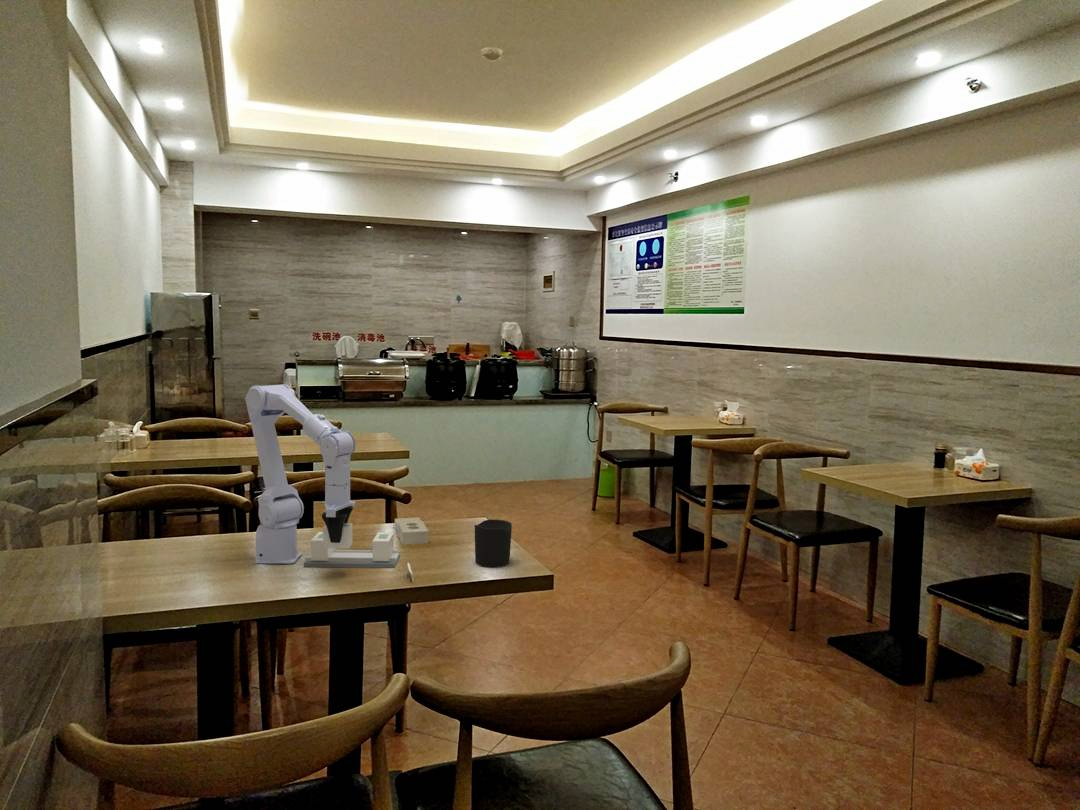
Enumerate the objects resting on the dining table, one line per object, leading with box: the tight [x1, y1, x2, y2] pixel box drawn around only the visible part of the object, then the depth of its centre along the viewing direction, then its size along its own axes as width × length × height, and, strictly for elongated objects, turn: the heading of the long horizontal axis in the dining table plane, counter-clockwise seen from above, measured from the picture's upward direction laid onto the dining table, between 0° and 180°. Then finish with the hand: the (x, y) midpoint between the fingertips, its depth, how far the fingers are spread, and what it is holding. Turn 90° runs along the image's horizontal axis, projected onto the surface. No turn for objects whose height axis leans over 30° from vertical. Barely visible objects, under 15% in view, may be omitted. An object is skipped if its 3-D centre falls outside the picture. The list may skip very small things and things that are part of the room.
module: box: [322, 522, 353, 549], centre depth 177 cm, size 6×4×5 cm, turn 92°
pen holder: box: [474, 519, 513, 568], centre depth 189 cm, size 9×9×10 cm
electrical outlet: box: [394, 516, 430, 546], centre depth 213 cm, size 7×4×18 cm
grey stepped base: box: [303, 531, 401, 569], centre depth 188 cm, size 22×10×7 cm, turn 93°
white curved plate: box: [402, 562, 415, 583], centre depth 177 cm, size 4×8×3 cm, turn 15°
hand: (337, 539), depth 177 cm, fingers closed on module, 4 cm apart
